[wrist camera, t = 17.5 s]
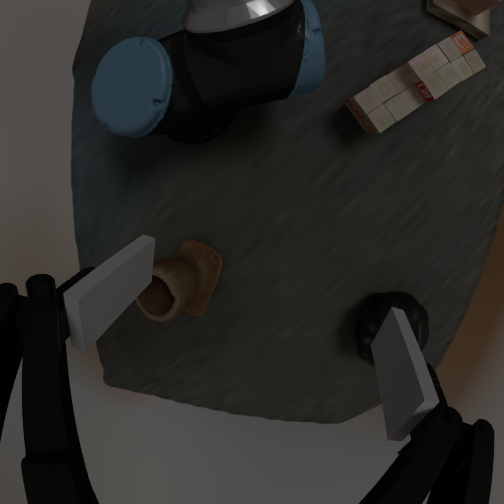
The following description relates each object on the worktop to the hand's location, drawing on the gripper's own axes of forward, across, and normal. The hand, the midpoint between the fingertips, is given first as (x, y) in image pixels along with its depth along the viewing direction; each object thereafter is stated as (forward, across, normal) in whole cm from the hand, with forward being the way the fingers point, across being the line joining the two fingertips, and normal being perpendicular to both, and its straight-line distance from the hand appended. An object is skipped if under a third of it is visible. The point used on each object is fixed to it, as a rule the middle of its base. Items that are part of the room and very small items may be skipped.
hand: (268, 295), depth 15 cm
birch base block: (+37, +21, +46) cm, 62 cm away
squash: (+37, +25, -19) cm, 49 cm away
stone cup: (+37, -15, -22) cm, 46 cm away
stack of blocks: (+37, +13, +22) cm, 45 cm away
